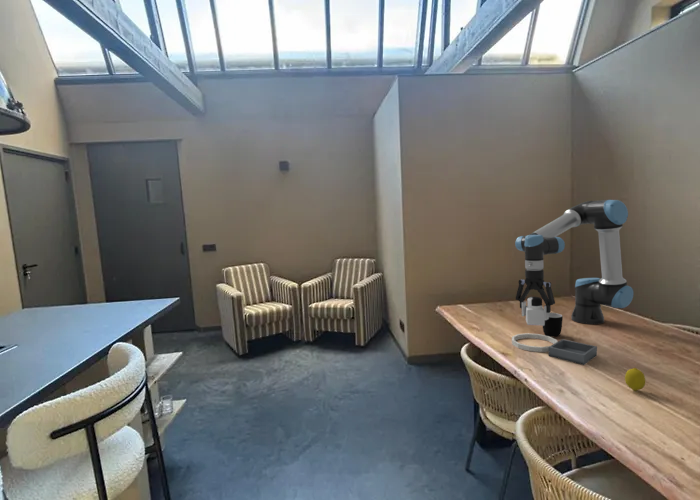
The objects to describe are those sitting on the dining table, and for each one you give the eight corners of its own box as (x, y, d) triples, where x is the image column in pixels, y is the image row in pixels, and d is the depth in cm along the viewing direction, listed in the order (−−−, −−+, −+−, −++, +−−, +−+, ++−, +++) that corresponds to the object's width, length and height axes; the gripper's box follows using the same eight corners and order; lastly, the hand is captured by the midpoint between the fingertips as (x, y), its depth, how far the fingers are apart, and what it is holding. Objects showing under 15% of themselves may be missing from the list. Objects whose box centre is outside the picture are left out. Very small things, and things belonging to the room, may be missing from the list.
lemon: (620, 387, 133) (621, 365, 132) (635, 386, 134) (636, 364, 133) (633, 395, 128) (634, 372, 127) (649, 393, 128) (650, 370, 127)
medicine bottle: (542, 321, 179) (542, 295, 178) (544, 325, 172) (544, 299, 171) (525, 320, 181) (525, 295, 180) (527, 325, 175) (526, 299, 174)
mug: (565, 338, 184) (565, 317, 183) (545, 338, 185) (545, 317, 184) (555, 330, 196) (555, 310, 195) (536, 330, 197) (536, 311, 196)
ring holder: (524, 334, 191) (524, 331, 191) (565, 343, 176) (565, 339, 176) (504, 344, 179) (504, 340, 179) (546, 355, 165) (546, 350, 164)
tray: (562, 347, 172) (562, 339, 171) (596, 355, 161) (597, 346, 161) (548, 356, 163) (548, 347, 163) (583, 365, 153) (584, 355, 152)
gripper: (506, 268, 181) (507, 315, 183) (556, 272, 163) (556, 324, 166) (514, 266, 185) (515, 311, 188) (563, 269, 168) (564, 320, 170)
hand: (534, 317), depth 177 cm, fingers closed on medicine bottle, 9 cm apart
